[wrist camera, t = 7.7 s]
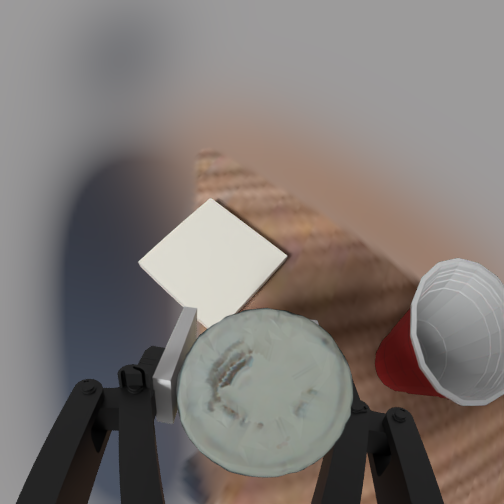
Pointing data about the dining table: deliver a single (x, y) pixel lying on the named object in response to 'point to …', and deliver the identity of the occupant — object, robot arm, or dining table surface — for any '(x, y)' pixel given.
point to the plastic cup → (449, 337)
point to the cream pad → (212, 263)
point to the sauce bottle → (264, 393)
